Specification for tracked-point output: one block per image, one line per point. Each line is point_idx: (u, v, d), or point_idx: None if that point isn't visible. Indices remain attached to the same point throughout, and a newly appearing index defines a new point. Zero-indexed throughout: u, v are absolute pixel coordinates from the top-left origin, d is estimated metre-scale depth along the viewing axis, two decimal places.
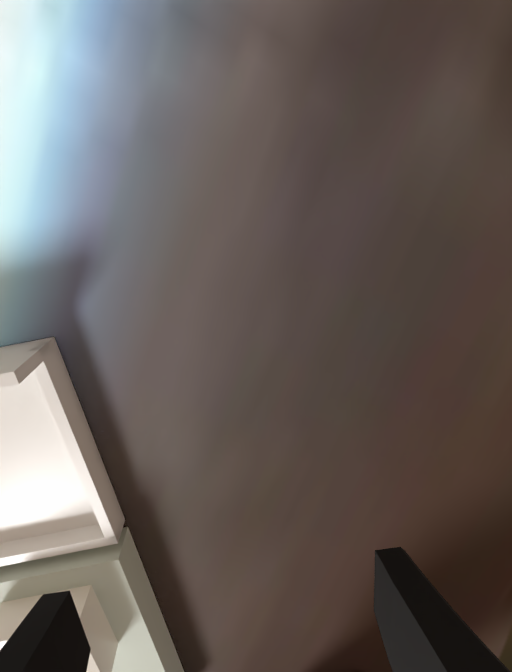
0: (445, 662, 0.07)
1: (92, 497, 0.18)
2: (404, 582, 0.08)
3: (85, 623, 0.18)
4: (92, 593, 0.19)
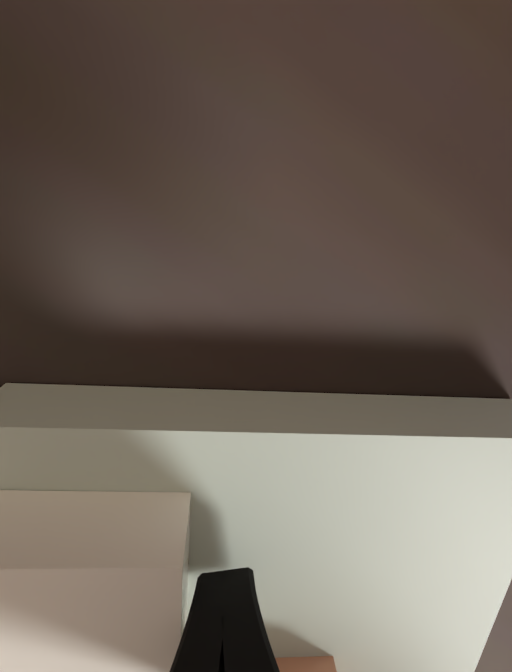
0: None
1: None
2: (231, 605, 0.08)
3: None
4: (1, 497, 0.09)
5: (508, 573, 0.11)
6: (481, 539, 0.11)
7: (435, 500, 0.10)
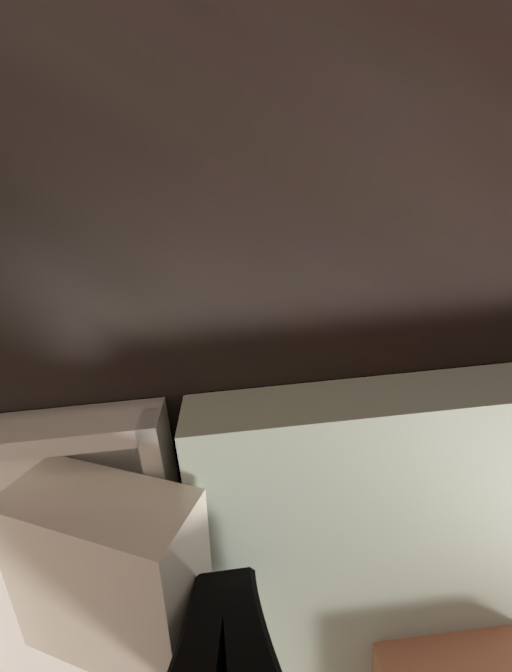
0: None
1: (28, 452, 0.09)
2: (233, 605, 0.08)
3: (23, 496, 0.09)
4: (54, 461, 0.10)
5: None
6: None
7: None
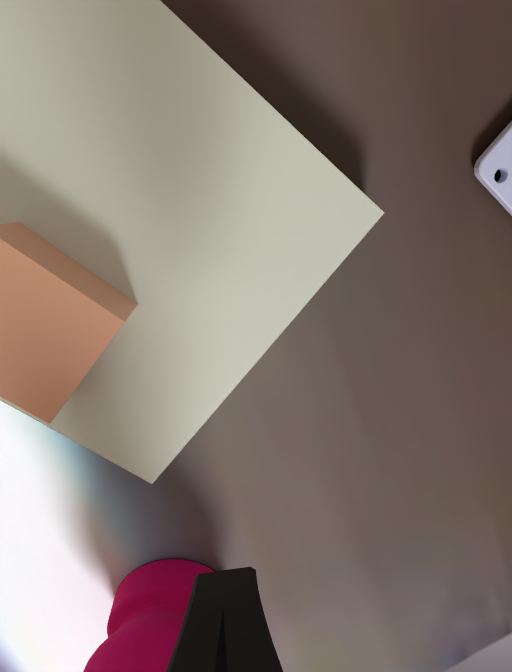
0: None
1: None
2: (234, 605, 0.08)
3: None
4: None
5: (295, 308, 0.14)
6: (294, 262, 0.14)
7: (283, 201, 0.13)
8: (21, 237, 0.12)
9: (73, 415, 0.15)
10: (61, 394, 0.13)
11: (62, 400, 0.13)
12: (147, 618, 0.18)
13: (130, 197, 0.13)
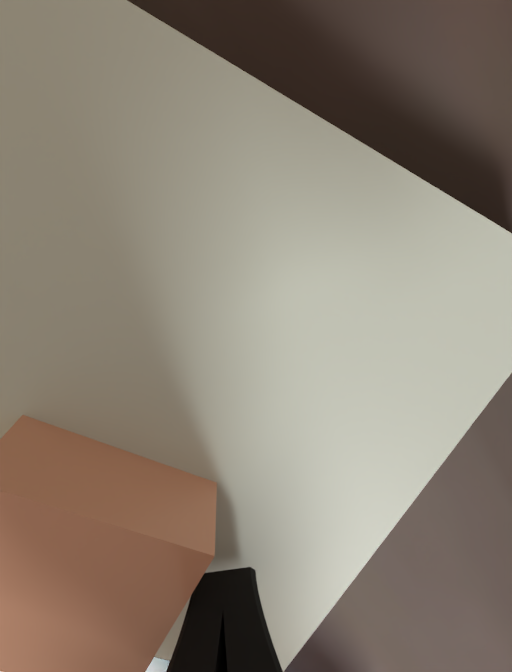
0: None
1: None
2: (234, 605, 0.08)
3: None
4: None
5: (451, 440, 0.09)
6: (445, 379, 0.09)
7: (419, 297, 0.08)
8: (29, 455, 0.07)
9: None
10: (137, 662, 0.08)
11: (141, 669, 0.08)
12: None
13: (180, 345, 0.08)
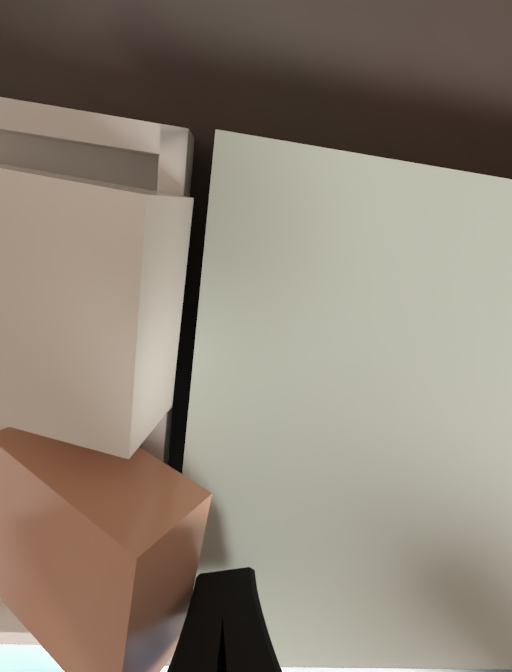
0: None
1: (14, 117, 0.07)
2: (233, 605, 0.08)
3: None
4: None
5: None
6: None
7: None
8: None
9: (485, 648, 0.12)
10: None
11: None
12: None
13: (497, 413, 0.09)
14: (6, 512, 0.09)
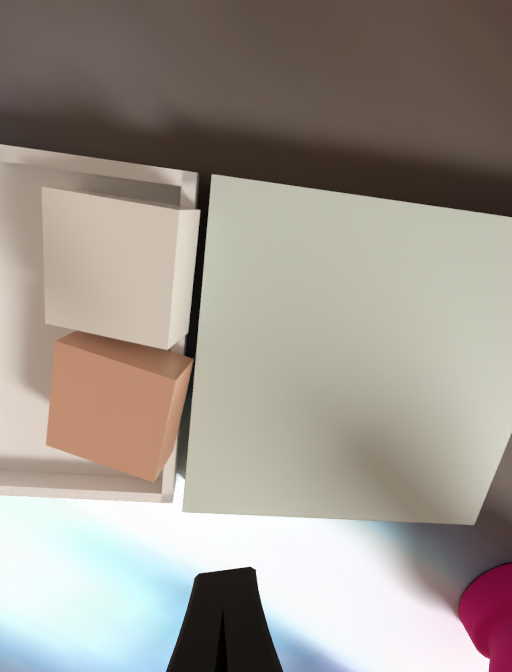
0: None
1: (105, 168, 0.13)
2: (234, 605, 0.08)
3: (71, 190, 0.13)
4: (85, 190, 0.14)
5: None
6: None
7: (502, 270, 0.15)
8: (87, 337, 0.15)
9: (396, 504, 0.18)
10: (152, 455, 0.15)
11: (155, 460, 0.15)
12: None
13: (383, 335, 0.15)
14: (70, 386, 0.14)
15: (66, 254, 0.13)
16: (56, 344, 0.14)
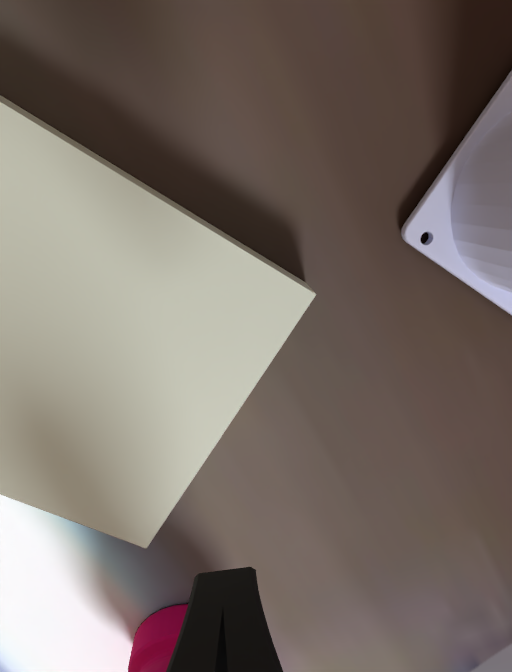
0: None
1: None
2: (234, 605, 0.08)
3: None
4: None
5: (249, 385, 0.16)
6: (241, 346, 0.15)
7: (221, 297, 0.14)
8: None
9: (66, 499, 0.17)
10: None
11: None
12: (159, 666, 0.20)
13: (85, 313, 0.14)
14: None
15: None
16: None
